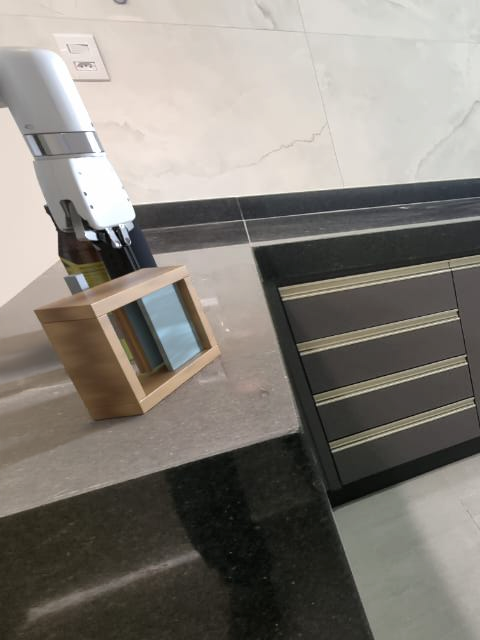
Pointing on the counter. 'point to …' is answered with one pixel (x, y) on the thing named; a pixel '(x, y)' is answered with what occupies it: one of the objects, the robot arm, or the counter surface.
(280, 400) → the counter surface
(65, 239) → the sauce bottle
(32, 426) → the counter surface
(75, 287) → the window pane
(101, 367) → the window frame
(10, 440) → the counter surface
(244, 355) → the counter surface
